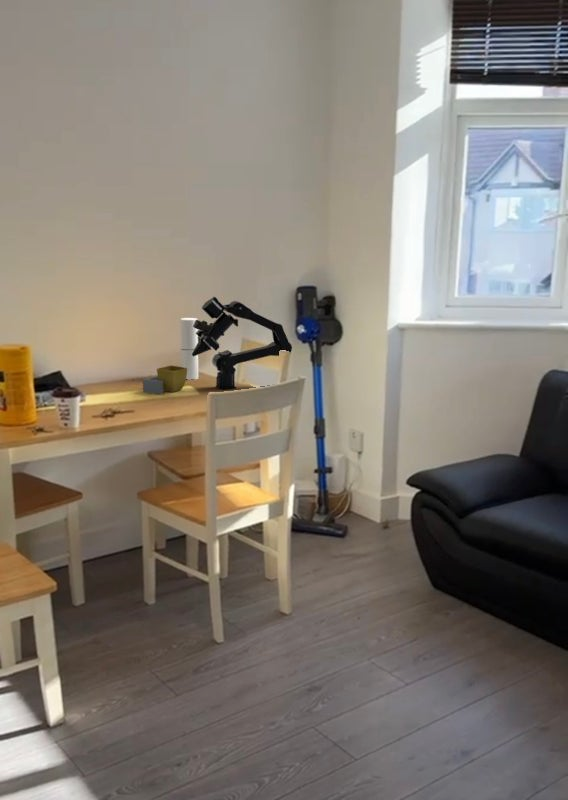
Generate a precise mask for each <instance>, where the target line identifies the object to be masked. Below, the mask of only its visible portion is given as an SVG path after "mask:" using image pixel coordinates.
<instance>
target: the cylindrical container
mask: <svg viewBox="0 0 568 800" xmlns="http://www.w3.org/2000/svg"><path fill="white" fill-rule="evenodd" d="M196 319H197V320H199V319H198V318H195V317H181V318H180V367H185V368H187V376H186V379H187V380H186V381H192V380H191V379H194V380H198V379H199V354H198V355H196V356H192V352H193V351H194V349H195V347H196V345H197V343H198V337H199V336H198V335H197V334H196V332H197V331H198V330H199V329H196V328H194V327H193V325H194V323H195V321H196Z"/></svg>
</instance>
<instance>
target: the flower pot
mask: <svg viewBox="0 0 568 800" xmlns="http://www.w3.org/2000/svg"><path fill="white" fill-rule="evenodd" d="M156 374H157V375H156V376H158V381H163V392H164V391H165V392H171V393H174V392H178V390H179V391H181V390H182V389H183V388H184V386H185V384H186V381H187V380H186V376H187V368H185V367H181V366H178V365H172V364H171V365H165V366H161V367H158V368H156Z"/></svg>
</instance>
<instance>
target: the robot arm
mask: <svg viewBox="0 0 568 800" xmlns="http://www.w3.org/2000/svg"><path fill="white" fill-rule="evenodd" d="M201 309H202V310H203V311H204V312H205V314H207V316H209V317H210V318H211V319H216V320H215V321H214V322H210V323H209V324H208V322H207V321H206V320H205V319H204V320H199V319H198V318H197V319H198V320H197V319H196V321H195V323H194V325H193V327H194V328H196V329H198V331H197V332H196V334H197V335H198V343H197V345H196V347H195V349H194V351H193V352H192V356H196V355H198V356H199V355H201V354H202V353H205V352H208V351H211V350H214V351H215V352H217V351H218V349H220V343H219V342H218V340H220V338H221V337H223V336H225V333H226V332H227V331H228V330H229V329H230V328H231V326H232V325H234V326H235V327H239V319H243V320H244V319H245V320H248V321H251V322H253V323H256V324H257V325H259V326H262V327H264V328H266V329H268V330H270V331H271V333H272V340H273V341H272V342H270V343H269V344H267V345H264V346H260V347H255V348H251V349H248V350H243V351H238V352H235V353H232V351H230V350H228V349H227V350H223V351H218V352H217V353H216V354H214V355H213V357H212V361H211V363H212V365H213V366H214V367H215V368H216V370H217V374H216V384H215V386H216V387H215V388H217V387H219V388H218V389H220V388H222V389H221V390H223V389H225V390H230V389H237V388H238V387H237V386H236V385H235V383H236V382H235V379H236V378H235V377H236V375H235V373H236V368H235V367H234V366H237V365H238V364H242V363H246V362H250V361H253V360H257V359H262V358H266V357H271V356H272V357H273V356H275V357H280V356H279V351H280V350H286V351H289V352H290V354H291V352H292V351H293V346H292V343H291V342H289V339H288V337H287V335H286V333H285V329H284V327H283V325H282V324H281V323H279V322H277V321H274V320H272V319H270V318H267V317H265V316H263V315H261V314H259V313H257V312H255V311H254V310H253V309H251V308H250V307H248V306H247V305H246V304H244V303H243V302H240V301H237V300H233V301H231V302H230V303H229V304H222V303H221V302H220V300H218V298H217V297H216V296H212V298H210V299H208V300H207V301H205V302H204V303H203V305H202V306H201ZM227 313H228V314H227ZM233 316H234V317H237V318H234V317H233ZM238 318H239V319H238Z"/></svg>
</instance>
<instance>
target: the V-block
mask: <svg viewBox="0 0 568 800" xmlns="http://www.w3.org/2000/svg"><path fill="white" fill-rule="evenodd" d="M142 391H143V393H148V394H153V393H154V395H155V394H156V395H164V390H163V381H158V375H155V376H149V377H147V378H143V379H142Z"/></svg>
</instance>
